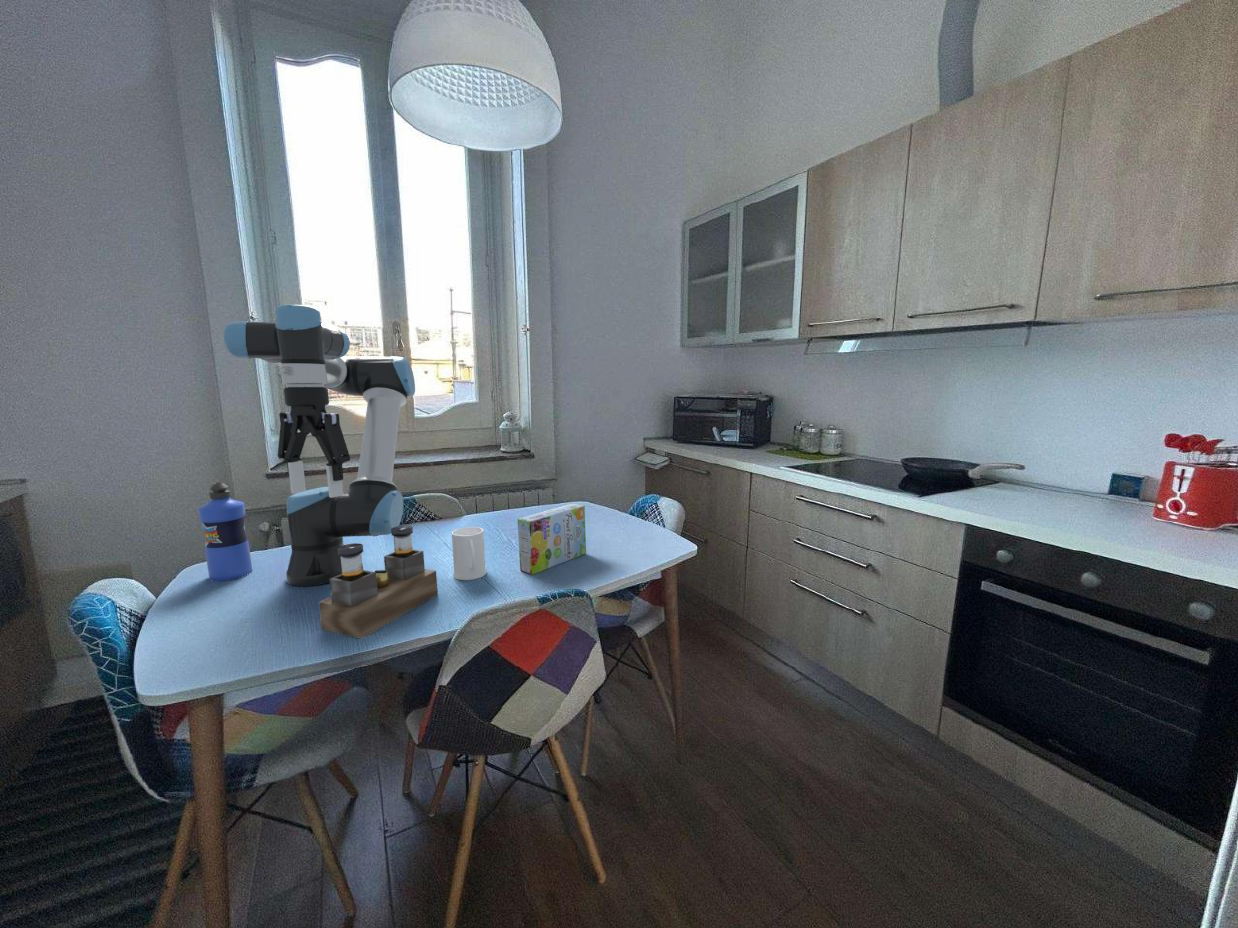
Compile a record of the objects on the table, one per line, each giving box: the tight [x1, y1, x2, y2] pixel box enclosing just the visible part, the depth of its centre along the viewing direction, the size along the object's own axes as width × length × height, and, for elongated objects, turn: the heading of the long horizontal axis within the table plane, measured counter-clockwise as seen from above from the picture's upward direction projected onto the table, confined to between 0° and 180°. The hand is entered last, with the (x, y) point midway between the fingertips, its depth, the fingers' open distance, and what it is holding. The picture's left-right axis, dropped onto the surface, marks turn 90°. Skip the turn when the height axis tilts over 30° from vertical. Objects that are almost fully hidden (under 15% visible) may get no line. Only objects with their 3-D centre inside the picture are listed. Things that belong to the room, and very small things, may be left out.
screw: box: [374, 569, 389, 588], centre depth 108 cm, size 3×3×3 cm
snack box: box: [517, 503, 587, 575], centre depth 137 cm, size 21×6×15 cm, turn 141°
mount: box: [318, 549, 439, 640], centre depth 108 cm, size 11×22×11 cm, turn 160°
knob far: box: [390, 525, 414, 558], centre depth 113 cm, size 5×5×8 cm
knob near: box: [337, 542, 364, 582], centre depth 100 cm, size 5×5×8 cm
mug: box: [451, 526, 487, 581], centre depth 127 cm, size 12×8×12 cm
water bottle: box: [198, 482, 253, 582], centre depth 127 cm, size 9×9×25 cm
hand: (317, 494), depth 100 cm, fingers open, 10 cm apart
